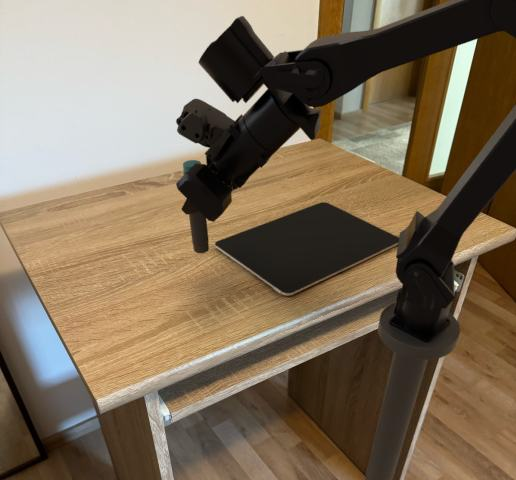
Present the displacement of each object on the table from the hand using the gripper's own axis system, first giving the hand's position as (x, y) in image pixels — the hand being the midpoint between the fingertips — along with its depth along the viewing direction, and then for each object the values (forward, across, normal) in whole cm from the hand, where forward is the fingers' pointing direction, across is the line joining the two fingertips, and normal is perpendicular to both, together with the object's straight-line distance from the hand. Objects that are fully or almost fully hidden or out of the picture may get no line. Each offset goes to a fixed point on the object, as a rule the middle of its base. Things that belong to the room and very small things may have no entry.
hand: (187, 207), depth 69 cm
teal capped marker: (+4, 0, +6) cm, 7 cm away
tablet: (-1, -16, +19) cm, 25 cm away
